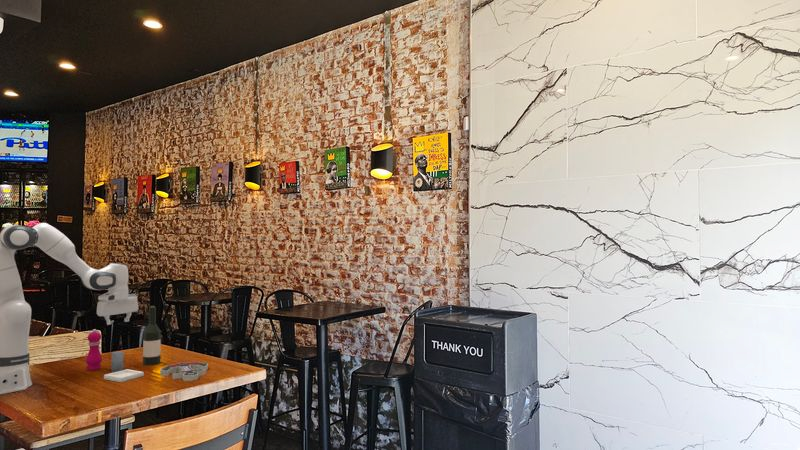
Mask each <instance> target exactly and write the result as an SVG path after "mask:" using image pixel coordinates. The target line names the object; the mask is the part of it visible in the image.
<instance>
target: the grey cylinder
mask: <svg viewBox="0 0 800 450" xmlns="http://www.w3.org/2000/svg"><path fill="white" fill-rule="evenodd" d="M110 370H111V371H112V372H111V373H114V372H118V371H122V370H124V351H114V352H113V351H112V352H111V369H110Z"/></svg>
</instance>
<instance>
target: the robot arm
mask: <svg viewBox="0 0 800 450" xmlns="http://www.w3.org/2000/svg"><path fill="white" fill-rule="evenodd" d="M33 245H34V246H36V247H37V248H39V249H40V250H41V251H43V252H44V253H45V254H47V255H48V256H50V257H51V258H52V259H54V260H55V261H58V262H60V263H62V264H64V265H65V266H67V267H68V268H69V269H70V270H71V271H72V272H74V273H75V275H77V276H78V277H79V278H80V280H81V283H82V284H83V287H85V288H86V289H88V290H96V291H103V290H107V289H108V291H107V292H105V293H103V294H100V295H98V297H97V299H98V302H97V306H96V315H97V316H98V317H104V319H105V321H106V325H107V326H109V325H112V324H113V323H112V320H110V318H111V316H113V315H114V316H115V315H121V314H126V317H124V320H123V321H124V322H125V323H127V322H130V318H131V316H132V313H136V312H138V311H139V301H138V295H137V294H135V293H129V285H128V284H129V269H128V266H127V265H126V264H124V263H119V262H110V264H109V265H107V266H105V267H102V268H99V269H97V268H94V267H91V266H90V265H88V264H87V263H86V262H85V261H84V259H83V260H82V258H80V257H79V256H78V254H77V252H76V246H75V244H74V243H73V242H72V240H70V239H69V238H68V236H66V235H65V234H64V233H63V232H61V231H60V230H59V229H57V228H56V227H55V226H52V225H50V224H49V223H46V222H39V223H37V224H35V225H34V226H33V227H29V226H24V225H20V224H11V225H7V226H5V227H4V228H2V229H1V230H0V395H3V394H9V393H13V392H14V393H15V392H19V391H24V390H27V389H28V388H29V387H31V386H32V385H33V382H32V379H31V375H30V368H29V366H30V352H29V346H30V344H29V339H30V338H29V336H30V329H31V321H32V319H31V318H32V307H31V305H30V303H29V302H27V301H26V300H25V296H24V289H23V286H22V280H21V276H20V273H19V270H18V267H17V263H16V261H15V253H16V252H17V251H20V250H25V249H26V248H29V247H31V246H33Z"/></svg>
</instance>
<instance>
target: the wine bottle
mask: <svg viewBox="0 0 800 450" xmlns="http://www.w3.org/2000/svg"><path fill="white" fill-rule="evenodd" d="M161 334H162V331H161V329H160V328H159V326H158V325H157V307H156V306H155V305H150V306H149V308H148V324H147V326H146V327H145V328H144V330H143V333H142V336H143V339H142V340H143V341H142V342H143V343H142V346H143V347H142V365H143V366H155V365H158V364H160V363H161V353H162V351H161V349H162V348H161V347H162V345H161V343H162V341H161V340H162V337H161V336H162V335H161Z"/></svg>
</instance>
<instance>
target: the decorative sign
mask: <svg viewBox="0 0 800 450" xmlns="http://www.w3.org/2000/svg"><path fill="white" fill-rule="evenodd" d="M208 370H209V363H208V362H200V361H192V362H179V363H175V364H168V365H165V367H160V375H161V376H163V377H168V376H170V375H171V374H172V378H171V379H172V380H178V379H182V381H184V382H194V381H198V379H199V377H202V376H206V372H207V371H208Z"/></svg>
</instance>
